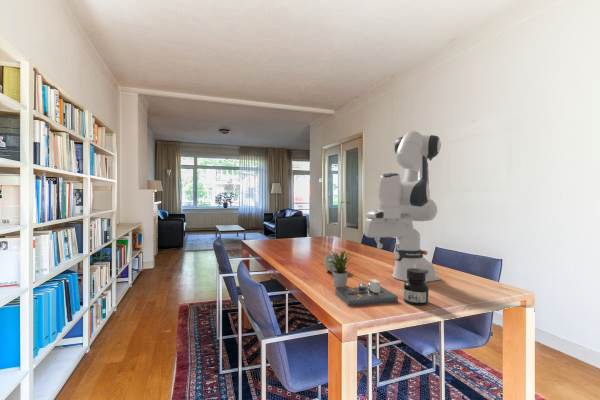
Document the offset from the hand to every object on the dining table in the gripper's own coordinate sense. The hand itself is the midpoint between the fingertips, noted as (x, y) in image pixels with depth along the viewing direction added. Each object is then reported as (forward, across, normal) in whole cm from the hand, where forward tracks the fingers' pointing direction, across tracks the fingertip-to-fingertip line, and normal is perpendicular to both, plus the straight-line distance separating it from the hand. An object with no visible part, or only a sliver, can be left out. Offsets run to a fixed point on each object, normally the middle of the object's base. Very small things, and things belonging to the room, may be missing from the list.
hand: (388, 248), depth 120 cm
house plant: (+20, +14, -18) cm, 30 cm away
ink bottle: (+20, -7, +8) cm, 22 cm away
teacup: (+20, +9, -40) cm, 45 cm away
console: (+19, +10, 0) cm, 22 cm away
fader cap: (+17, +6, 0) cm, 18 cm away
